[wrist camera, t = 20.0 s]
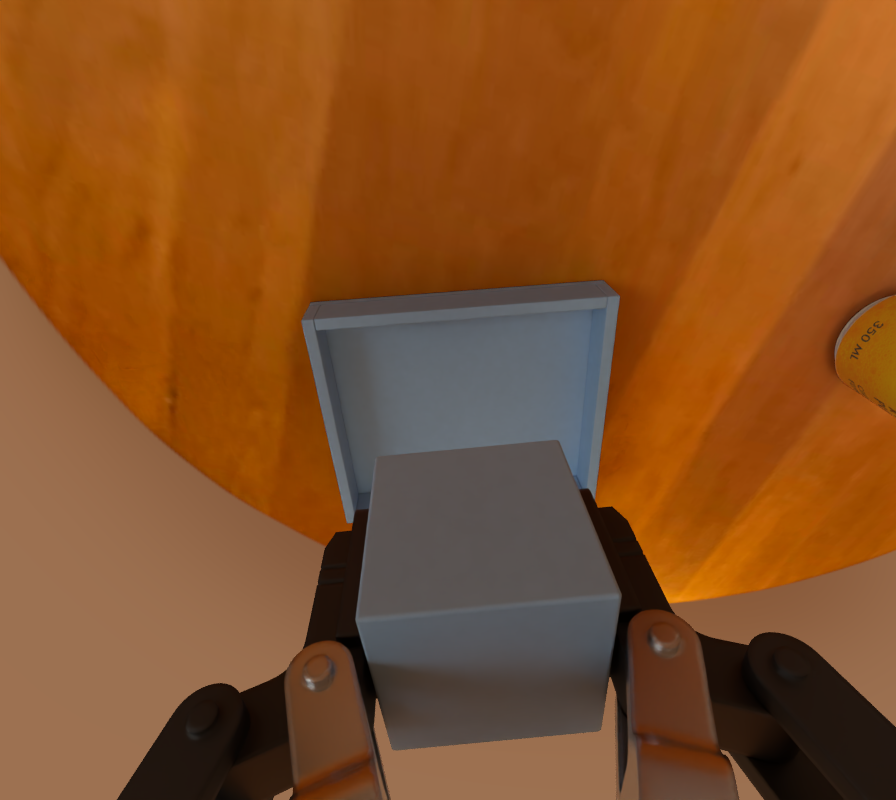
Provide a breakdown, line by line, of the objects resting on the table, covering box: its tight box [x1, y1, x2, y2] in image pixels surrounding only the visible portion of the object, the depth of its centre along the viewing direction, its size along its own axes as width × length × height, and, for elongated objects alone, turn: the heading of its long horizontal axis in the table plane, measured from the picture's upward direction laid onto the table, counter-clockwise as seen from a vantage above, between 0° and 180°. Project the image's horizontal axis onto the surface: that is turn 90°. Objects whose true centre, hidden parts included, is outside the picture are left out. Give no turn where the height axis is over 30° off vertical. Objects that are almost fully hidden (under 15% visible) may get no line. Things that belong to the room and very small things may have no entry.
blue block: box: [355, 440, 622, 750], centre depth 11 cm, size 4×4×4 cm
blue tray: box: [301, 280, 620, 523], centre depth 28 cm, size 15×13×2 cm
